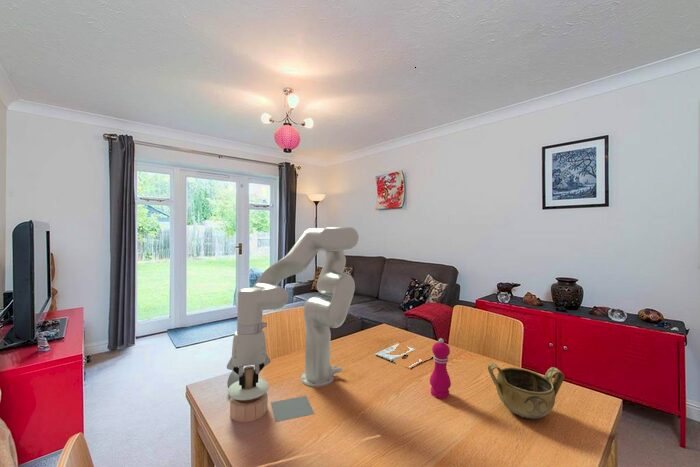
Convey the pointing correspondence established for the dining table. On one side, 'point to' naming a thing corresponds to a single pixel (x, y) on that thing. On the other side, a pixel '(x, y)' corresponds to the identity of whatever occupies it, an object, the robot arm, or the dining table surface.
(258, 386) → the lid
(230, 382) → the ceramic mug
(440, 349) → the pepper mill
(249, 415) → the round wooden tub
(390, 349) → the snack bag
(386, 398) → the dining table surface
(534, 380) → the ceramic bowl
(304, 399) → the placemat
